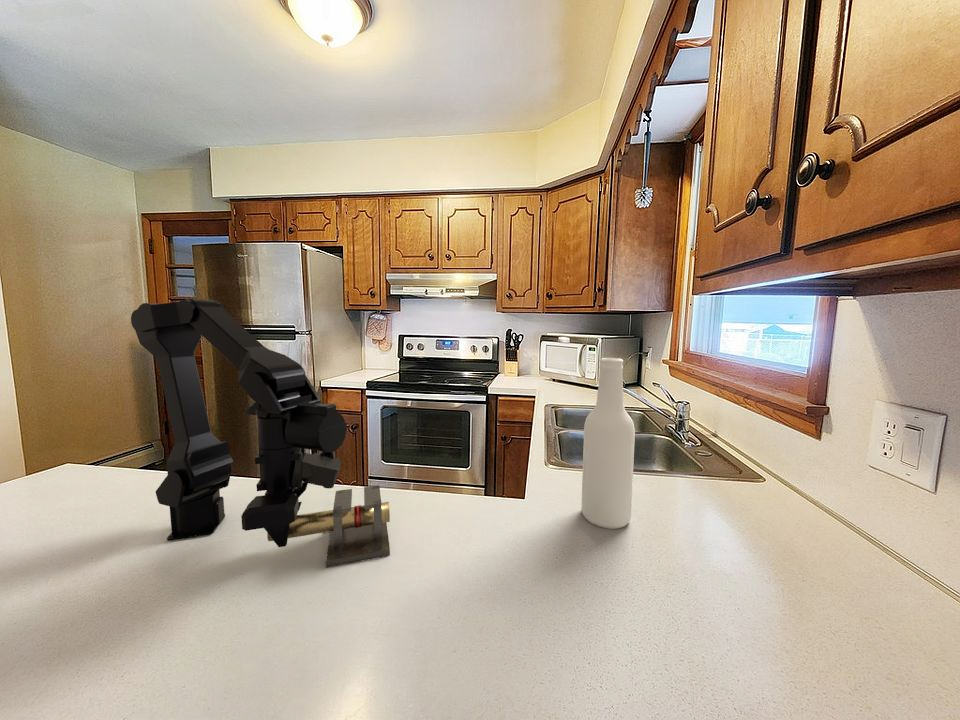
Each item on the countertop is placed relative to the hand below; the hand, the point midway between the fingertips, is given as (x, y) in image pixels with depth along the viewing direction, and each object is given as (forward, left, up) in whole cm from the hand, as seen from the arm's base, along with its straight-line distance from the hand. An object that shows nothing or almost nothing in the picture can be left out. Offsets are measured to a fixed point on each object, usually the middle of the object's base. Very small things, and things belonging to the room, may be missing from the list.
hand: (284, 539), depth 56 cm
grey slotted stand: (+11, 0, -2) cm, 11 cm away
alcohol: (+55, -7, -2) cm, 56 cm away
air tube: (+7, 0, 0) cm, 7 cm away
